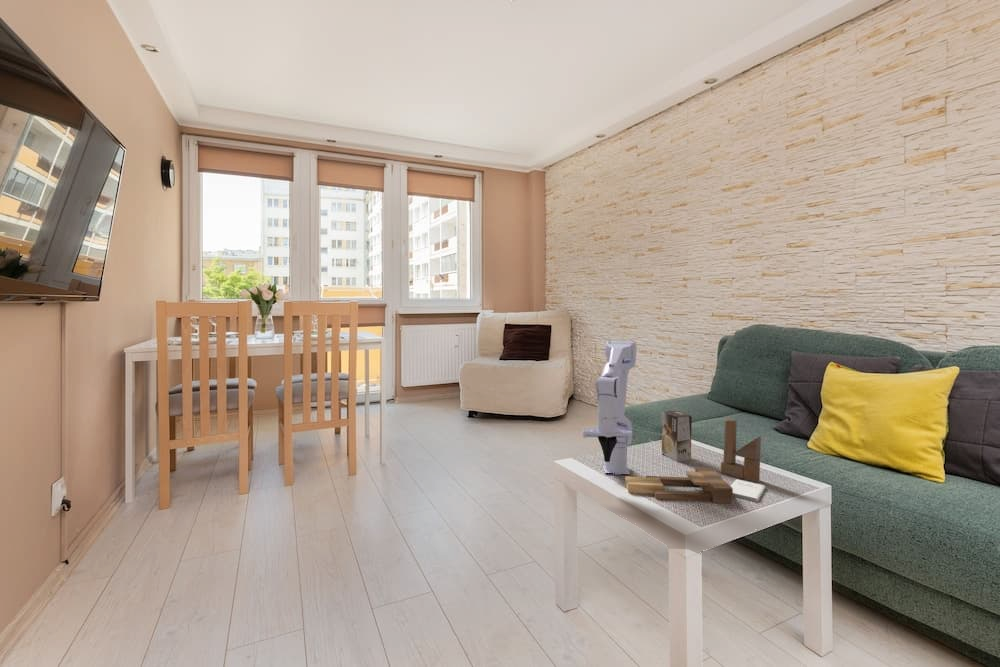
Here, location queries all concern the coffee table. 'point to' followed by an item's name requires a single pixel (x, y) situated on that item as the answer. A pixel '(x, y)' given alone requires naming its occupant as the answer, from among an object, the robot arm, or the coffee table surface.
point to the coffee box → (676, 435)
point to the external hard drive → (747, 490)
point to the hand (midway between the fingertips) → (606, 460)
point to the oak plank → (643, 484)
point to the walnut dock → (705, 478)
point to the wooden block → (748, 452)
